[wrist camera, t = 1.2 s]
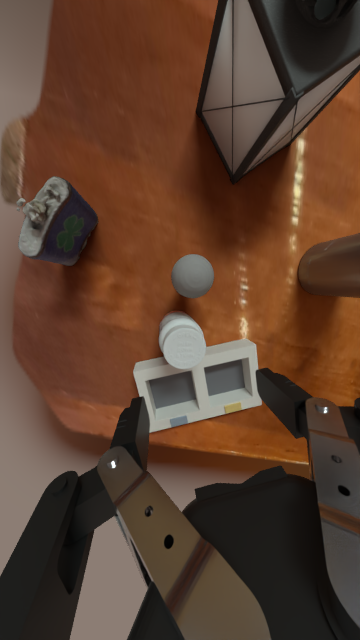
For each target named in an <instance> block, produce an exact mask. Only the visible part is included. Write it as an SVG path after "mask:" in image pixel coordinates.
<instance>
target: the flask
mask: <svg viewBox="0 0 360 640" xmlns="http://www.w3.org/2000/svg"><path fill="white" fill-rule="evenodd" d="M23 202H26V201H25V200H24V199H22V198H21V199H19V200H18V201H17V205H18V206H22V204H23ZM17 210H18V211H20V209H19V208H17ZM23 213H24V214H26V217H25V220H24V222H23V226H22V230H21V233H20V236H19V242H18V247H19V249H20V251H21V252H22V253H23V254H24V255H25V256H27V257H29V258H32V259H40V260H45V261H50V262H54V263H59V264H63V265H67V266H72V265H74V264H75V263H76V262H77V260H78V259H79V258H80V257H79V255H80V253H81V251H82V250H83V249H84V247H85V246H86V244H87V237H88V236H90V232H91V231H92V230H93V229H94V227H95V226H96V224H97V223H98V217H97V214H96V213H95V212H94V210H93V209H92V208H91V207H90V205H89V204H88V203H87V202H86V201H85V200H84V199H83V198H82V197H81V195H80V194H79V193H78V192H77V191H76V190H75V189H74V188H73V187H72V185H71V184H70V183H69V182H68V181H67V180H65V179H63V178H60V177H54V176H53V177H52V178H50V179H49V180H48V181H47V182H46V183H45V185H44V186H43V188H42V189H41V190H40V191H39V192H38V194H37V195H36V196H35V198H34V200H33V201H31V202H30V203H27V204H25V207H23Z"/></svg>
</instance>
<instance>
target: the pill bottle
mask: <svg viewBox="0 0 360 640" xmlns="http://www.w3.org/2000/svg"><path fill="white" fill-rule="evenodd" d="M159 345H160V349H161V351H162V352H163V354H164V357H165V359H166V361H167V362H168V363H169V364H170V365H172V366H173V367H175V368H178V369H189V368H192V367H195V366H196V365H198V364H199V363H200V362H201V361H202V359H203V358H204V356H205V353H206V343H205V340H204V336H203V332H202V330H201V328H200V327H199V325H198V324H197V323H196V322H195V321H194V320H193V319H192V318H191V317H190V316H189V315H188V314H187V313H185V312H182V311H172V312H169V313H167V314H166V315H165V316H164V317H163V318H162V320H161V322H160V327H159Z"/></svg>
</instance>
